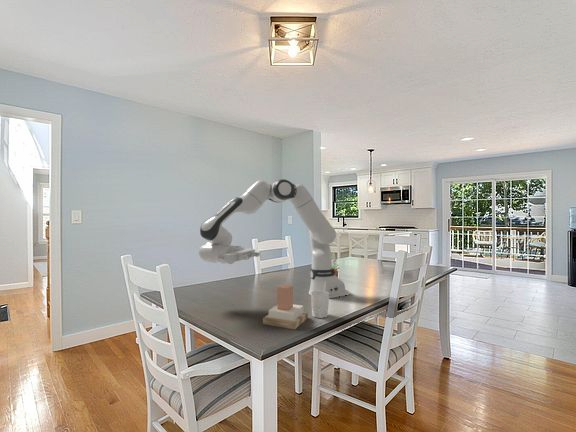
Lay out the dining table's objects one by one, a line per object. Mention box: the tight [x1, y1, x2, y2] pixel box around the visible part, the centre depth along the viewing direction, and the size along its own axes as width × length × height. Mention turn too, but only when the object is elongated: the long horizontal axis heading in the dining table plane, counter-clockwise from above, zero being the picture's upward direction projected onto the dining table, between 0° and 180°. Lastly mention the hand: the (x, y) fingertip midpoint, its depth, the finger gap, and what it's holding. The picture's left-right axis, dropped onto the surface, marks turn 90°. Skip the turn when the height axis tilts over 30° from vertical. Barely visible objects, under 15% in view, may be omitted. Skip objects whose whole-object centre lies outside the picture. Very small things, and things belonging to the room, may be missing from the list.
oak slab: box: [262, 311, 309, 331], centre depth 125 cm, size 14×14×3 cm
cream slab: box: [268, 303, 304, 321], centre depth 125 cm, size 11×11×3 cm
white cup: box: [310, 291, 330, 319], centre depth 131 cm, size 8×8×10 cm
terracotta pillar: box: [276, 284, 294, 310], centre depth 125 cm, size 5×5×9 cm
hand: (253, 256), depth 137 cm, fingers open, 8 cm apart
